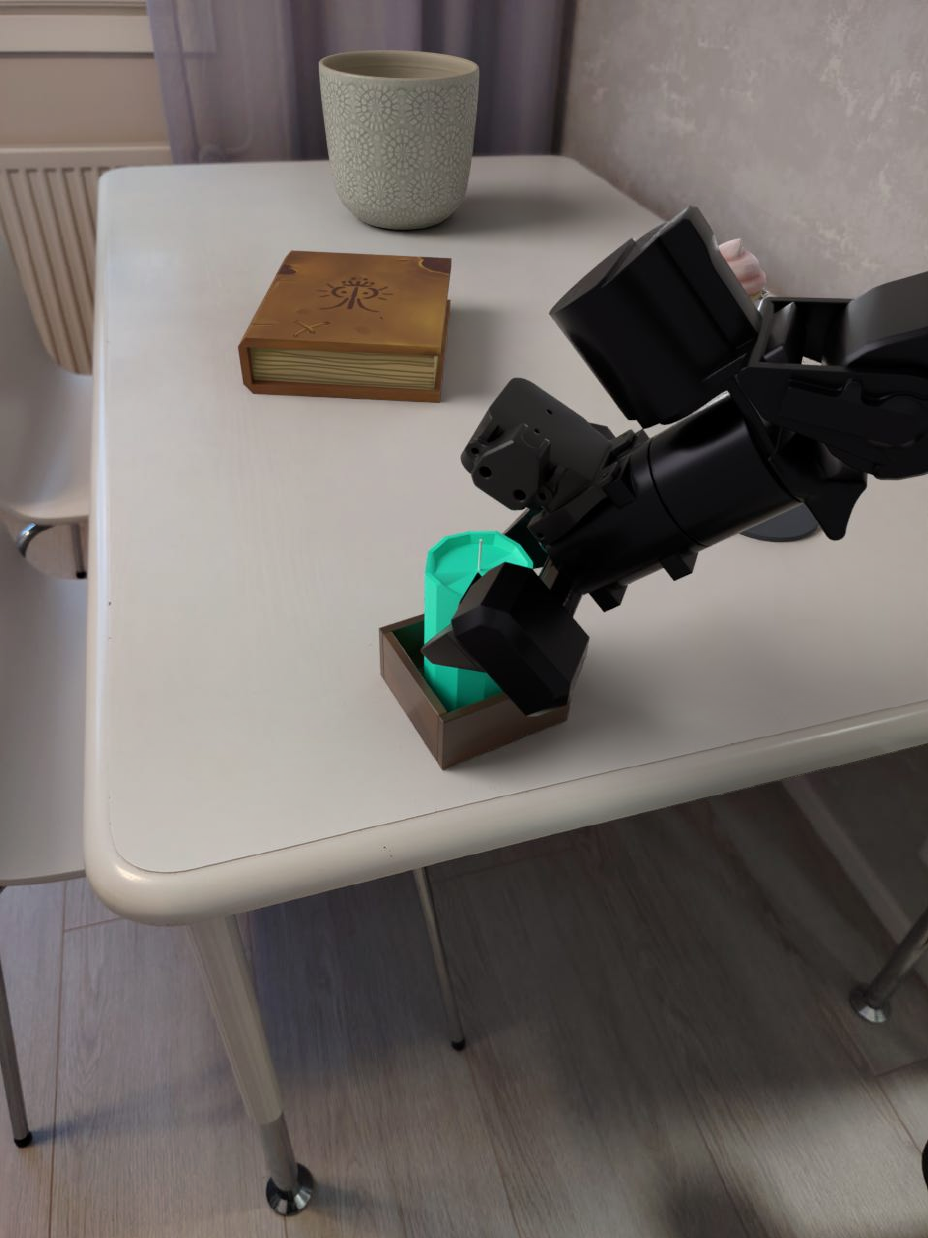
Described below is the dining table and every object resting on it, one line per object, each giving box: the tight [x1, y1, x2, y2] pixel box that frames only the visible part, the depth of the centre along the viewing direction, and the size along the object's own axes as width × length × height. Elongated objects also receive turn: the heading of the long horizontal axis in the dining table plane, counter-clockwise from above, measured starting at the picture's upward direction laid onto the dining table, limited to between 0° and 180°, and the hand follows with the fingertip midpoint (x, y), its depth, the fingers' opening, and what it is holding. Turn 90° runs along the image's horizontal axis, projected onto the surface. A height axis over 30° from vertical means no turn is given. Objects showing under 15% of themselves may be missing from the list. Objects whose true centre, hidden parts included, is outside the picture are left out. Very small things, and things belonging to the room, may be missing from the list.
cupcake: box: [718, 237, 771, 309], centre depth 95 cm, size 9×9×10 cm
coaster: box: [739, 504, 819, 542], centre depth 71 cm, size 9×9×1 cm
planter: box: [318, 49, 480, 231], centre depth 118 cm, size 21×21×19 cm
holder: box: [378, 612, 573, 770], centre depth 52 cm, size 9×9×4 cm
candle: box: [423, 530, 534, 713], centre depth 50 cm, size 6×6×12 cm
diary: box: [237, 249, 453, 403], centre depth 89 cm, size 23×19×6 cm
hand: (454, 610), depth 50 cm, fingers open, 8 cm apart
